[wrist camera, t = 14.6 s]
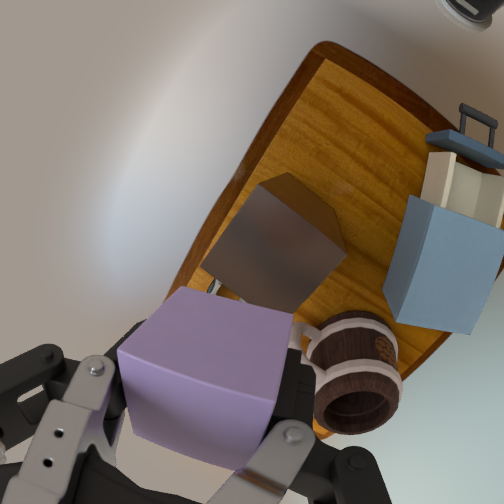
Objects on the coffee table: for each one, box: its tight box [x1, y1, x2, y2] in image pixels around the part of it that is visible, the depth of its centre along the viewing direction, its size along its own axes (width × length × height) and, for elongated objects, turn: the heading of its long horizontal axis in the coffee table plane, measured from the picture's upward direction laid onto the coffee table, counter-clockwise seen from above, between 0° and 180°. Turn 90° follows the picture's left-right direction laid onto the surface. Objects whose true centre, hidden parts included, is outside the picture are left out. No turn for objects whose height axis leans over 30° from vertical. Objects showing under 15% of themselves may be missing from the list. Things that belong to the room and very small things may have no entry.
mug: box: [288, 311, 402, 435], centre depth 37 cm, size 20×15×15 cm
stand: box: [200, 172, 347, 314], centre depth 30 cm, size 8×8×20 cm
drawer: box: [420, 103, 504, 228], centre depth 28 cm, size 18×11×8 cm, turn 171°
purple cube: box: [117, 286, 294, 471], centre depth 10 cm, size 4×4×4 cm
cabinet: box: [382, 195, 504, 335], centre depth 32 cm, size 15×13×10 cm
